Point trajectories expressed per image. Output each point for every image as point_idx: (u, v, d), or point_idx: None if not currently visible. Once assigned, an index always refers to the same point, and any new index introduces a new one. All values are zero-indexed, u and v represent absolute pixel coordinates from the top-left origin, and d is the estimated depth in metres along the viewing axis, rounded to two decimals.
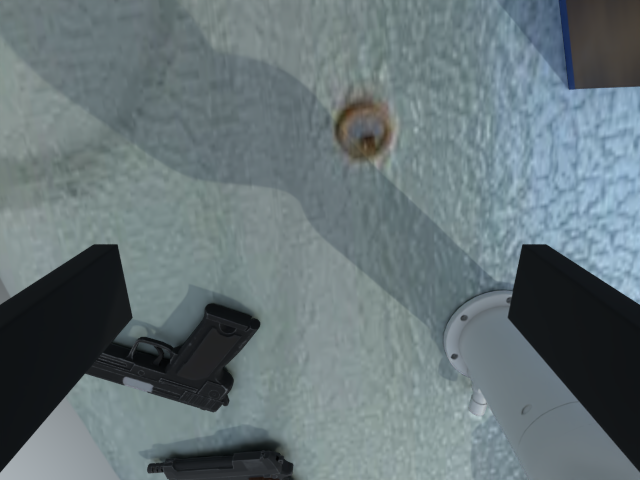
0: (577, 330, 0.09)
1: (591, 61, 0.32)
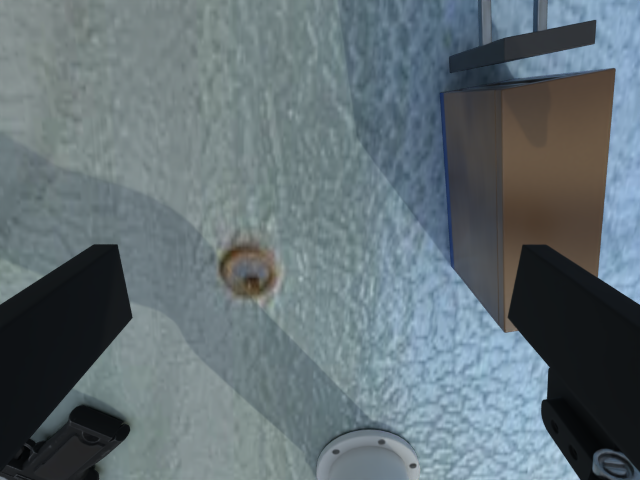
0: (577, 330, 0.09)
1: (462, 259, 0.33)
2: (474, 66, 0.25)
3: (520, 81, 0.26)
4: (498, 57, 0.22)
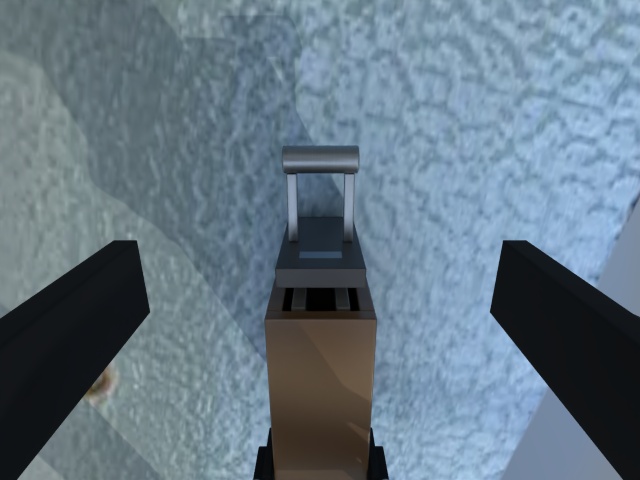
0: (551, 322, 0.10)
1: None
2: None
3: None
4: None
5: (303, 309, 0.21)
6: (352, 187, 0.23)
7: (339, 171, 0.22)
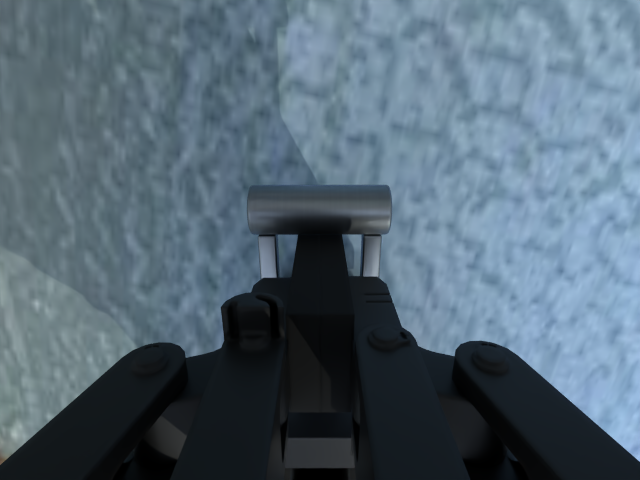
0: None
1: None
2: None
3: None
4: None
5: None
6: (377, 258, 0.13)
7: (354, 233, 0.12)
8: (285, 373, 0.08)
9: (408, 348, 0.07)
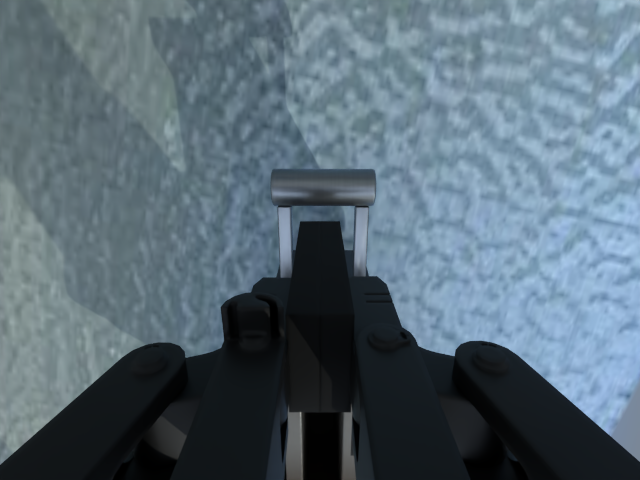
0: None
1: None
2: None
3: None
4: None
5: None
6: (365, 224, 0.17)
7: (348, 204, 0.16)
8: (285, 373, 0.08)
9: (408, 348, 0.07)
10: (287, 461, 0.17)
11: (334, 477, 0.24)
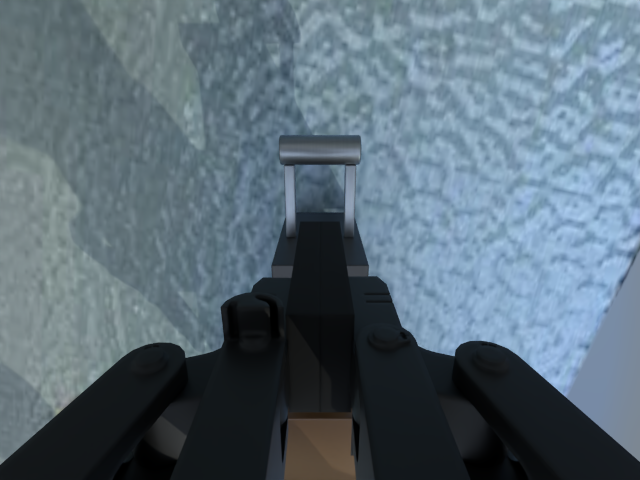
0: None
1: None
2: None
3: None
4: None
5: None
6: (353, 179, 0.21)
7: (340, 162, 0.21)
8: (285, 373, 0.08)
9: (408, 348, 0.07)
10: None
11: None
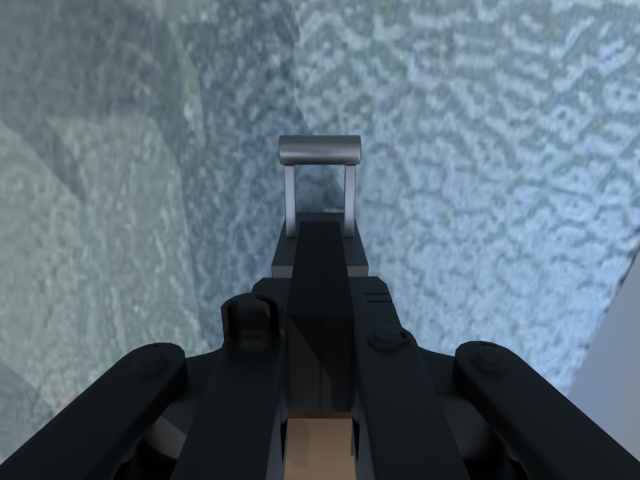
0: None
1: None
2: None
3: None
4: None
5: None
6: (353, 179, 0.21)
7: (340, 162, 0.21)
8: (285, 373, 0.08)
9: (408, 348, 0.07)
10: None
11: None
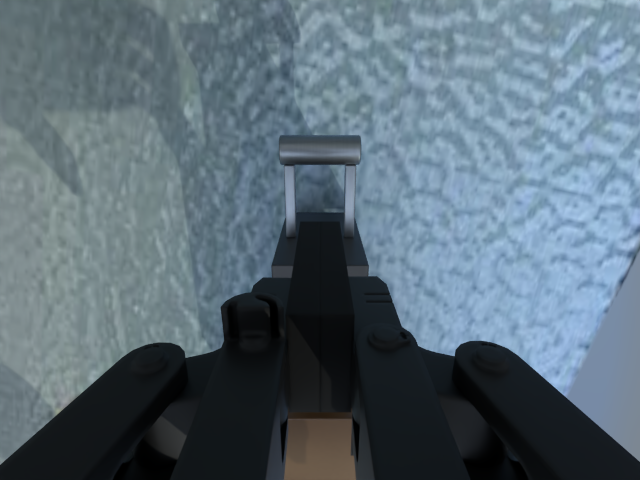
0: None
1: None
2: None
3: None
4: None
5: None
6: (353, 179, 0.21)
7: (340, 162, 0.21)
8: (285, 373, 0.08)
9: (408, 348, 0.07)
10: None
11: None
